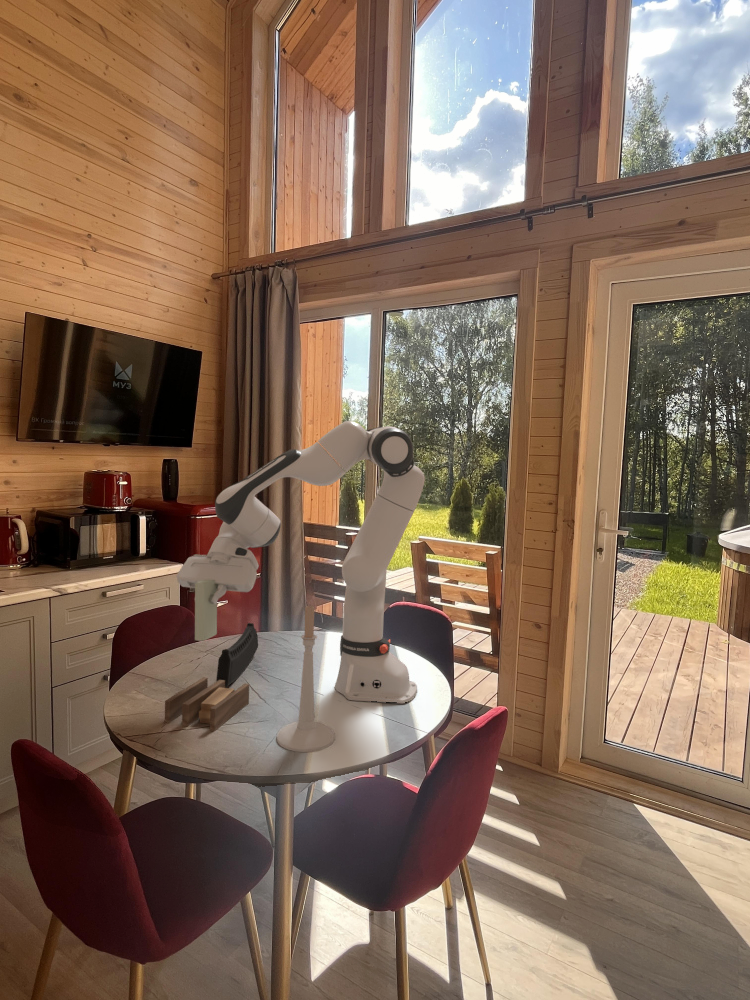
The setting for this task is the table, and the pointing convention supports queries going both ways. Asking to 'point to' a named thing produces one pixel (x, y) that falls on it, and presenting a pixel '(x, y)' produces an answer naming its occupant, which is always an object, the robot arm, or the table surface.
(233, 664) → the magazine
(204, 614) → the tall panel
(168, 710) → the walnut rack
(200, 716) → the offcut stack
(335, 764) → the table surface
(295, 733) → the candlestick
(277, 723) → the table surface
